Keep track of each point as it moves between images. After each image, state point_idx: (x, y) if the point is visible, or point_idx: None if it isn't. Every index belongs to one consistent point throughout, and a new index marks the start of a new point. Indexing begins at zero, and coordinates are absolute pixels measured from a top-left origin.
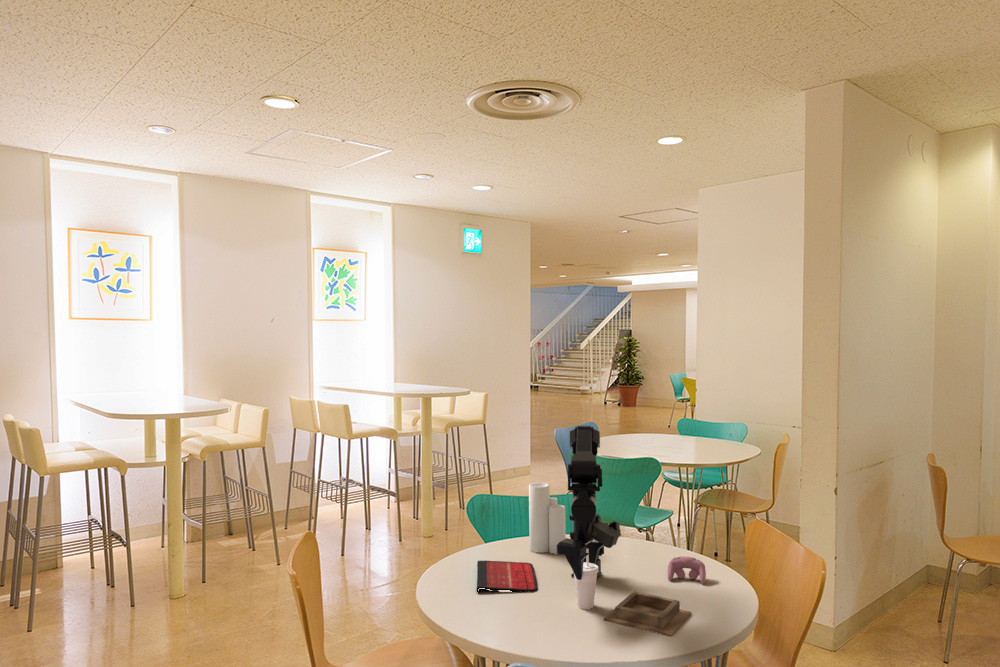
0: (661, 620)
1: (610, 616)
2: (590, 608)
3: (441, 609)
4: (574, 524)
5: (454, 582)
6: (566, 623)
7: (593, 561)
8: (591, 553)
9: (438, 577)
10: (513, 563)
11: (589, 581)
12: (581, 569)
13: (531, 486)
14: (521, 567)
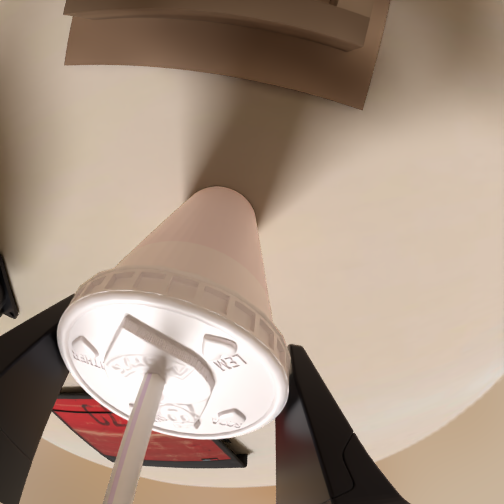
0: None
1: (334, 77)
2: (241, 195)
3: None
4: None
5: (210, 473)
6: (416, 259)
7: (42, 348)
8: (15, 410)
9: (201, 482)
10: (68, 422)
11: (255, 282)
12: (336, 417)
13: None
14: (73, 414)
